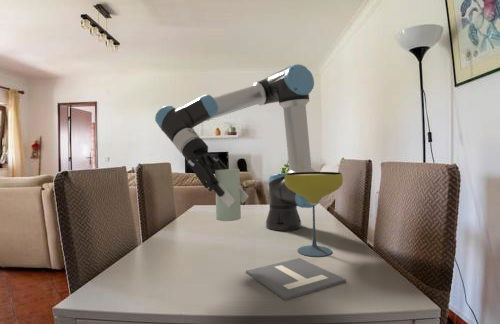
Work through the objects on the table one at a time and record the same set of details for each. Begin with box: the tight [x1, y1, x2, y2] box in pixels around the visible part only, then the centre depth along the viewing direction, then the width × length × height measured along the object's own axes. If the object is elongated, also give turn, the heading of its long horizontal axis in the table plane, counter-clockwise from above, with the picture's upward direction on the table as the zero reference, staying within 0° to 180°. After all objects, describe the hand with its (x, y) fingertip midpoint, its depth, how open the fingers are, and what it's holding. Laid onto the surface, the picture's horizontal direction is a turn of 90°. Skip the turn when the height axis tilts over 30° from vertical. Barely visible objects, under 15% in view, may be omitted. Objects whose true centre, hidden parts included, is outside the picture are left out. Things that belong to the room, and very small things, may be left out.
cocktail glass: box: [285, 171, 344, 258], centre depth 97 cm, size 18×18×25 cm
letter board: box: [245, 257, 347, 301], centre depth 78 cm, size 18×18×1 cm
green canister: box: [214, 168, 242, 222], centre depth 87 cm, size 7×7×14 cm
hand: (238, 201), depth 86 cm, fingers closed on green canister, 7 cm apart
